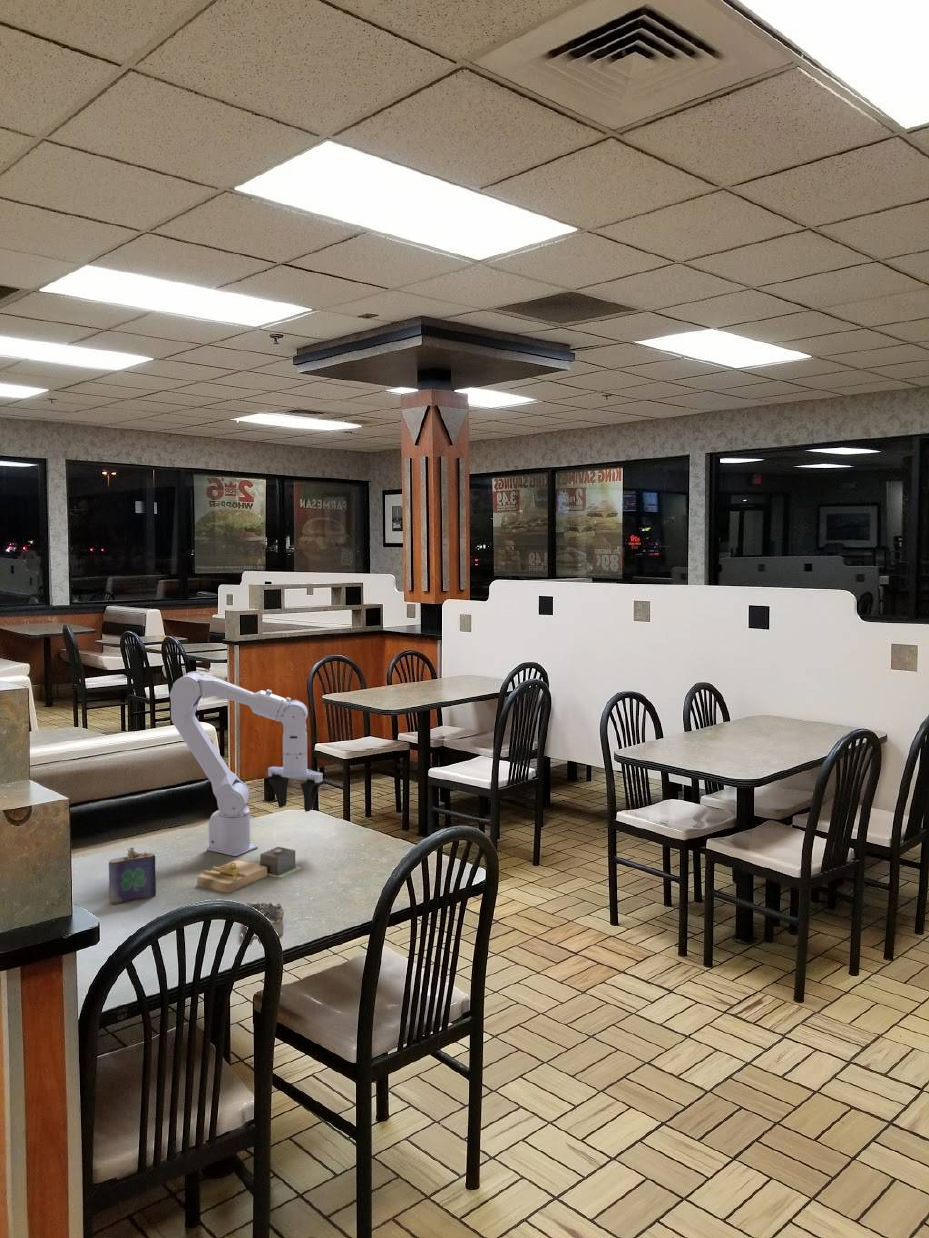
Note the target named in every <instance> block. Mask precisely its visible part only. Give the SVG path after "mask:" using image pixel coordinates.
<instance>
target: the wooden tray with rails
mask: <svg viewBox="0 0 929 1238" xmlns="http://www.w3.org/2000/svg"><path fill="white" fill-rule="evenodd" d="M231 863H235V864H236V867H238V868H239V877H237V878H236V877H232V876H227V875H223V874H220V866H215V865H214V866H212V869H211V870H206V869H205V870H203V873H201V874H199V875H197V876H196V885H197V886H199V887H202V888H206V889H209V890H214V891H217V892H222V893H226V894H230V893H232V892H234V891H236V890H239V889H241V888H244V887H246V886H248V885H250V884H252V883H254V882H258V880H260V879H263V878H265V877H267V876H268V875H267V867H265V866H261V865H259V864H256V863H251V862H247V861H243V860H239V859H234V860H233V861H230V862H228V863H225V864H224V865H229V864H231Z"/></svg>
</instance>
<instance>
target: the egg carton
mask: <svg viewBox="0 0 929 1238" xmlns="http://www.w3.org/2000/svg"><path fill="white" fill-rule="evenodd" d="M272 903H273V902H268V903H265V902H262V903H259V902H257V903H252V902H246V903H245V906H246V905H247V906H250V907H254V908H255V909H257V910H258V911H260V912H261V913H262V914H264V916H265V917H267V918H268V919H269V920H270V921H271V918H273V917H275V921H273V922H272V921H271V922H270V923H271V924H272V925H273V927H274V929H275V930H276V932H277V933H278V935H279V936H283V934H284V930H285V929H284V917H283V916H284V914H285V909H283V908H282V904H281V903H277V904H276V905H273V904H272ZM271 924H270V925H271ZM252 939H253V940H259V939H258V937H257V936H253V938H252Z"/></svg>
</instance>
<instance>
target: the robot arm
mask: <svg viewBox="0 0 929 1238" xmlns="http://www.w3.org/2000/svg"><path fill="white" fill-rule="evenodd" d="M216 696H217V697H220V698H223V699H227V700H229V701H232V702H236V703H239V704H242V705H246V706H248V707H249V708H250V710H251V711H252V713H253V714H255V715H257V716H261V717H263V718H267V719H269V720H273V721H276V722H281V724H282V726H283V733H282V766H269V767H268V768H267V776H268V777H271V778H269V779H268V783H269V784H270V786H271V788H272V790H273V793H274V794H275V798H276V801H277V805H278V807H279V808H283V807H285V806H287V802H288V801H287V800H288V798H287V797H288V796H287V795H288V793H287V792H288V785H289V780H290V779H295V780H300V781H301V780H302V781H304V782H302V783H300V786H301V790H302V795H303V798H304V799H303V807H304V809H303V810H304V812H307V813H308V812H311V811H313V807H314V802H315V799H316V796H317V793H318V791H319V789H320V787H321V785H322V782H323V781H324V779H323V778H324V776H323V775H324V774H323V772H319V771H318V772H317V771H315V770H311V769H308V732H307V729H308V728H307V727H308V726H307V719H308V714H309V711H308V707H307V706H306V704H304V703H303V702H302V701H300V700H299V699H292V698H291V697H288V696H287V697H282V696H280V695H277V694H274V693H273V691H272V690H271V689H269V688H268V689H266V690H262V689H261V690H259V691H257V692H253V691H250V690H248V689H245V688H243V687H241V686H238V685H236V684H234V683H230V682H228V681H226V680H223V679H221V678H220V677H219V678H218V677H215V676H213V675H210V674H205V673H204V674H203V673H201V672H199V671H195V670H194V671H189V672H187V673H185V674H184V675H183V676H181V677H179V678H178V679H176V680H175V681H174V683H173V684H172V687H171V690H170V692H169V699H170V720H171V722H172V724H173V725H174V727H175V729H176V730H177V732H178V733H179V735H180V737H182V739H183V741H184V742H185V744H186V745H187V747H188V749H189V750H190V752H191V753H192V755H193V757H194V758H195V760H196V761H197V762H198V765H199V766H200V768H201V769H202V771H203V772H204V774H205V775H206V777H207V779H208V780H209V782H210V783H211V788H212V793H213V795H214V797H215V799H216V804H217V808H218V809H217V810H216V811H214V812H213V813H212V814H211V815H210V818H209V822H208V846H207V847H206V851H211V852H215V853H220V854H224V855H228V856H233V857H238V856H240V855H242V854H244V853H245V854H246V853H247V852H250V851H253V850H255V849H257V848H259V845H258V844H254V843H251V813H250V812H251V810H250V808H249V807H248V805H247V803H248V802H249V800H250V798H251V790H250V787H249V785H247V783H245V782H244V781H242V780H241V779H239V777H238V776H237V774H236V773H234V772H233V771H231V770H230V768H229V767H228V765H227V763H226V762H225V760H224V759H223V757H222V756H221V754H220V752H219V751H218V749H217V748H216V746H215V745H214V743H213V741H212V740H211V738H210V737H209V735H208V734H207V732H206V730H205V729H204V727H203V726H202V725H201V722H200V721H199V720H198V717H197V716H196V712H197V708H198V705H199V702H200V700H201V699H203V700H204V699H208V698H214V697H216Z"/></svg>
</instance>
